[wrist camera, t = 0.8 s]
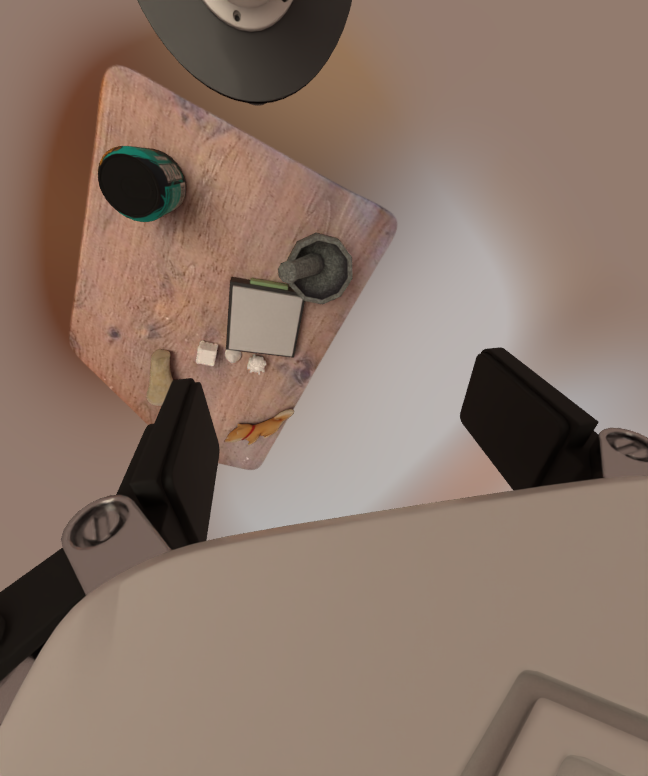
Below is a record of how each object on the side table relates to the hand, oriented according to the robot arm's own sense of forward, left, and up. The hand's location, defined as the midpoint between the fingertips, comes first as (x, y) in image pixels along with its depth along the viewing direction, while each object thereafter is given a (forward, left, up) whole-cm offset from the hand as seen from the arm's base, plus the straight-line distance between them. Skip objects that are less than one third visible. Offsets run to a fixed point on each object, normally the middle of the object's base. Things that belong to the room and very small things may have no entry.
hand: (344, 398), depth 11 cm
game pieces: (+24, -5, -46) cm, 52 cm away
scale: (+16, -1, -46) cm, 48 cm away
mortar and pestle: (+5, +5, -46) cm, 46 cm away
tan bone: (+30, -17, -46) cm, 57 cm away
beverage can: (-1, -17, -46) cm, 49 cm away
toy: (+42, +3, -44) cm, 61 cm away
